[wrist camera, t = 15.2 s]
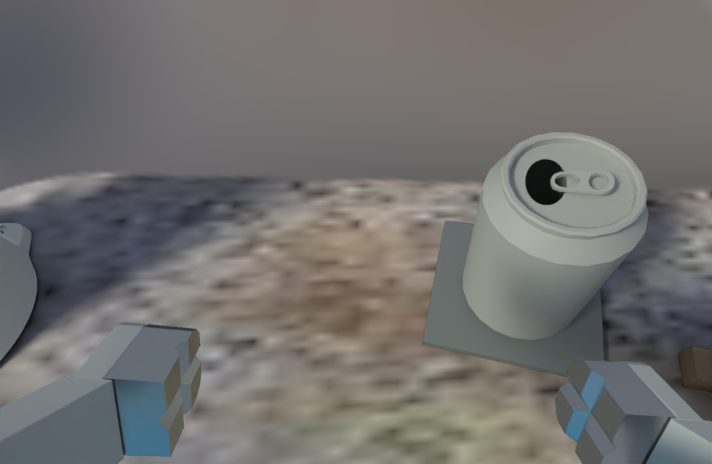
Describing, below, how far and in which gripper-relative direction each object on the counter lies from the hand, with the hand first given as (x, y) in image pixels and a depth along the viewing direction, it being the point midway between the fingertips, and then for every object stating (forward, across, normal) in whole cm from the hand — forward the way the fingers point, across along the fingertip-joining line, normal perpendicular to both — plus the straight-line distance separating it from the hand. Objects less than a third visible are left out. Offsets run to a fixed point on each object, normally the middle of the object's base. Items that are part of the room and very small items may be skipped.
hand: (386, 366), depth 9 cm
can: (+17, -12, +8) cm, 22 cm away
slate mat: (+18, -12, +8) cm, 23 cm away
